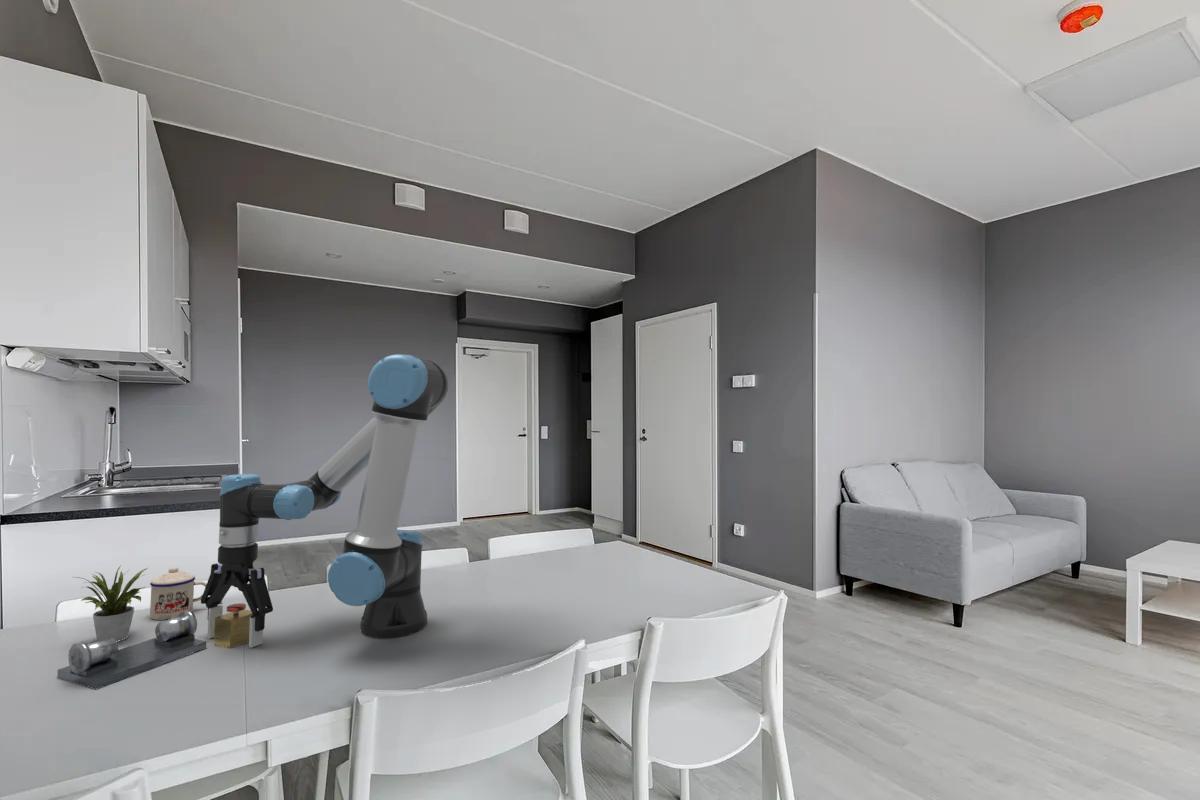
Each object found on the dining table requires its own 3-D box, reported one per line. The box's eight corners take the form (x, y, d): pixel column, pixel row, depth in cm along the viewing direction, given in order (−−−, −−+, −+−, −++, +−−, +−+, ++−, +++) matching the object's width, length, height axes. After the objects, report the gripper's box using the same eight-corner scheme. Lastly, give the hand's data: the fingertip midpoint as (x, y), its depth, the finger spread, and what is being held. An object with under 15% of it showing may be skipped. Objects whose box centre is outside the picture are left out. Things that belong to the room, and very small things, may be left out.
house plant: (51, 659, 115) (55, 579, 116) (70, 637, 127) (73, 563, 127) (141, 645, 123) (144, 570, 123) (150, 625, 134) (153, 556, 135)
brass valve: (240, 635, 129) (241, 600, 130) (255, 638, 127) (256, 603, 128) (213, 645, 124) (215, 608, 124) (229, 648, 122) (231, 611, 122)
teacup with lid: (148, 623, 136) (150, 574, 136) (148, 613, 143) (150, 566, 143) (209, 613, 143) (210, 567, 144) (206, 604, 150) (207, 560, 151)
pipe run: (169, 639, 126) (171, 606, 126) (206, 648, 122) (207, 614, 122) (57, 677, 107) (59, 638, 108) (95, 689, 103) (97, 648, 103)
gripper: (184, 542, 127) (180, 638, 127) (262, 552, 118) (258, 656, 118) (217, 535, 134) (213, 626, 134) (293, 545, 125) (289, 643, 125)
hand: (234, 640), depth 126 cm, fingers open, 12 cm apart
